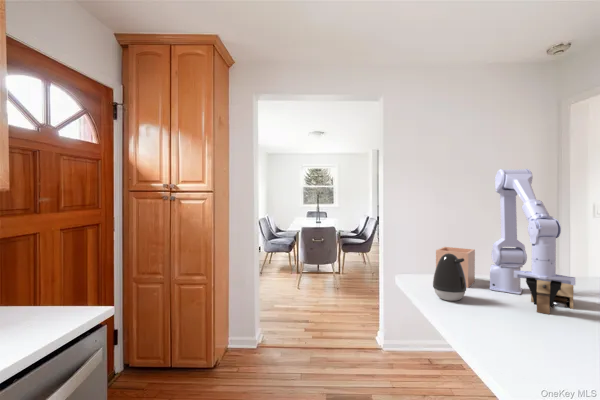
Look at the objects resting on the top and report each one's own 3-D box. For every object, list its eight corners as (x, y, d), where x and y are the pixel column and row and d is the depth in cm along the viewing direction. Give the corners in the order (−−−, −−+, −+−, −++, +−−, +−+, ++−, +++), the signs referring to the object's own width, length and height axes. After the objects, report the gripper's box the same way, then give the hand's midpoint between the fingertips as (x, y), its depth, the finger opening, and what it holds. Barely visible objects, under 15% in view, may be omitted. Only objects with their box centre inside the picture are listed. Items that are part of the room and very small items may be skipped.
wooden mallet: (536, 311, 97) (536, 295, 97) (539, 299, 109) (539, 284, 109) (567, 317, 93) (567, 299, 92) (566, 303, 105) (566, 287, 105)
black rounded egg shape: (452, 305, 103) (453, 257, 103) (426, 296, 112) (426, 252, 112) (473, 300, 107) (474, 254, 107) (446, 292, 117) (446, 250, 117)
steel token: (550, 306, 103) (550, 302, 103) (551, 302, 106) (551, 299, 106) (567, 308, 100) (567, 304, 100) (567, 305, 103) (567, 301, 103)
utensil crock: (435, 282, 130) (436, 250, 130) (444, 277, 139) (444, 246, 139) (468, 288, 123) (468, 253, 123) (474, 281, 132) (474, 249, 132)
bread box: (530, 302, 106) (531, 277, 106) (533, 295, 113) (533, 272, 113) (573, 309, 99) (573, 283, 99) (572, 301, 107) (572, 277, 107)
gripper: (512, 258, 98) (512, 303, 99) (575, 264, 89) (575, 314, 89) (515, 255, 104) (515, 297, 104) (575, 260, 95) (574, 307, 95)
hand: (543, 305), depth 97 cm, fingers closed on wooden mallet, 3 cm apart
